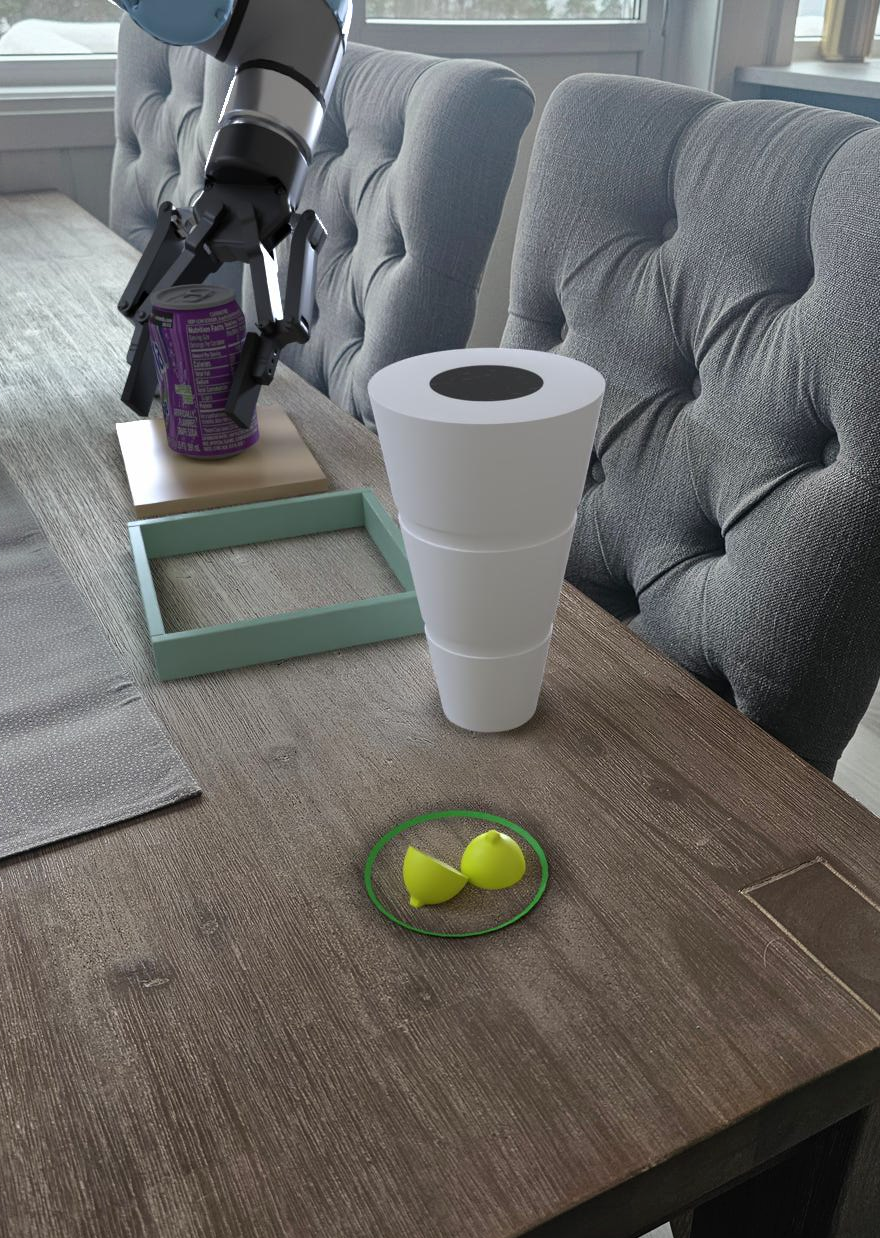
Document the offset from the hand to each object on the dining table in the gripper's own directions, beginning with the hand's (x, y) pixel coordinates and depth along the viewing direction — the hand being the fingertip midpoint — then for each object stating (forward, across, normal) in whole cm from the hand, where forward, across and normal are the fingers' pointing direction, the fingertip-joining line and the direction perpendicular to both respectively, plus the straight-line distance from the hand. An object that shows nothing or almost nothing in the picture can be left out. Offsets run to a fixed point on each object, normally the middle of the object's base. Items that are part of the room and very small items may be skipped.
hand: (184, 414), depth 84 cm
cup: (+20, -32, +12) cm, 40 cm away
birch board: (+2, 0, -6) cm, 6 cm away
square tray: (+14, -15, +6) cm, 22 cm away
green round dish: (+29, -35, +21) cm, 50 cm away
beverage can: (+1, 0, -5) cm, 5 cm away
